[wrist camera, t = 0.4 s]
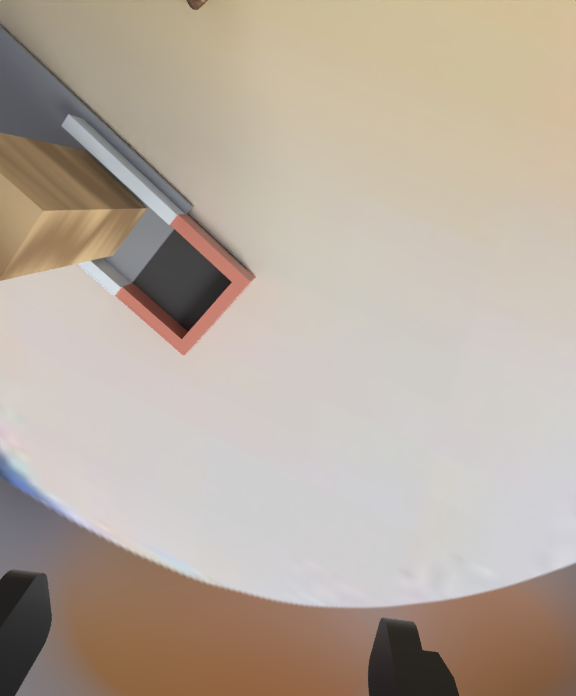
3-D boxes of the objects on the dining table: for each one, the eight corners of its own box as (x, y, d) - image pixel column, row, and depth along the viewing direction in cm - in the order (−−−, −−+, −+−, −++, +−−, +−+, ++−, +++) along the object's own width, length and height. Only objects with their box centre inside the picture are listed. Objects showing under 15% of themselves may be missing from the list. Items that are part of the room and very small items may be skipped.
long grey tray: (-30, -4, 25) (-61, -21, 23) (261, 270, 28) (255, 275, 26) (-86, 112, 27) (-118, 106, 25) (187, 352, 30) (177, 362, 28)
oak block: (84, 150, 26) (-60, 120, 17) (147, 208, 27) (43, 210, 18) (51, 201, 28) (-100, 199, 18) (112, 255, 28) (-3, 281, 19)
